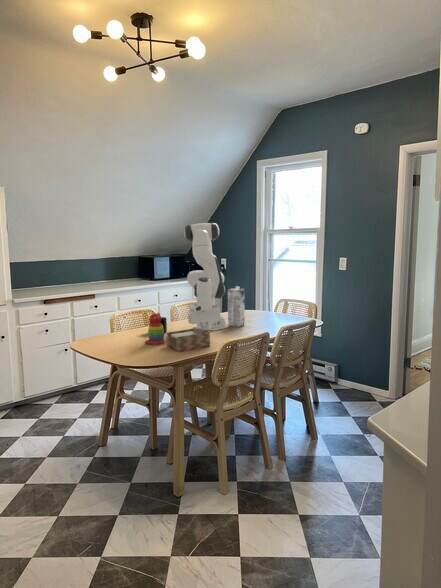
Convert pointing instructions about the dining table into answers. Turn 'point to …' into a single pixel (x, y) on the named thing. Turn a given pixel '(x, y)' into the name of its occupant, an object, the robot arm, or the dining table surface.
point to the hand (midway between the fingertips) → (204, 329)
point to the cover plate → (188, 333)
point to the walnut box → (188, 341)
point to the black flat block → (164, 323)
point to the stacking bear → (155, 330)
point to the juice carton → (236, 307)
